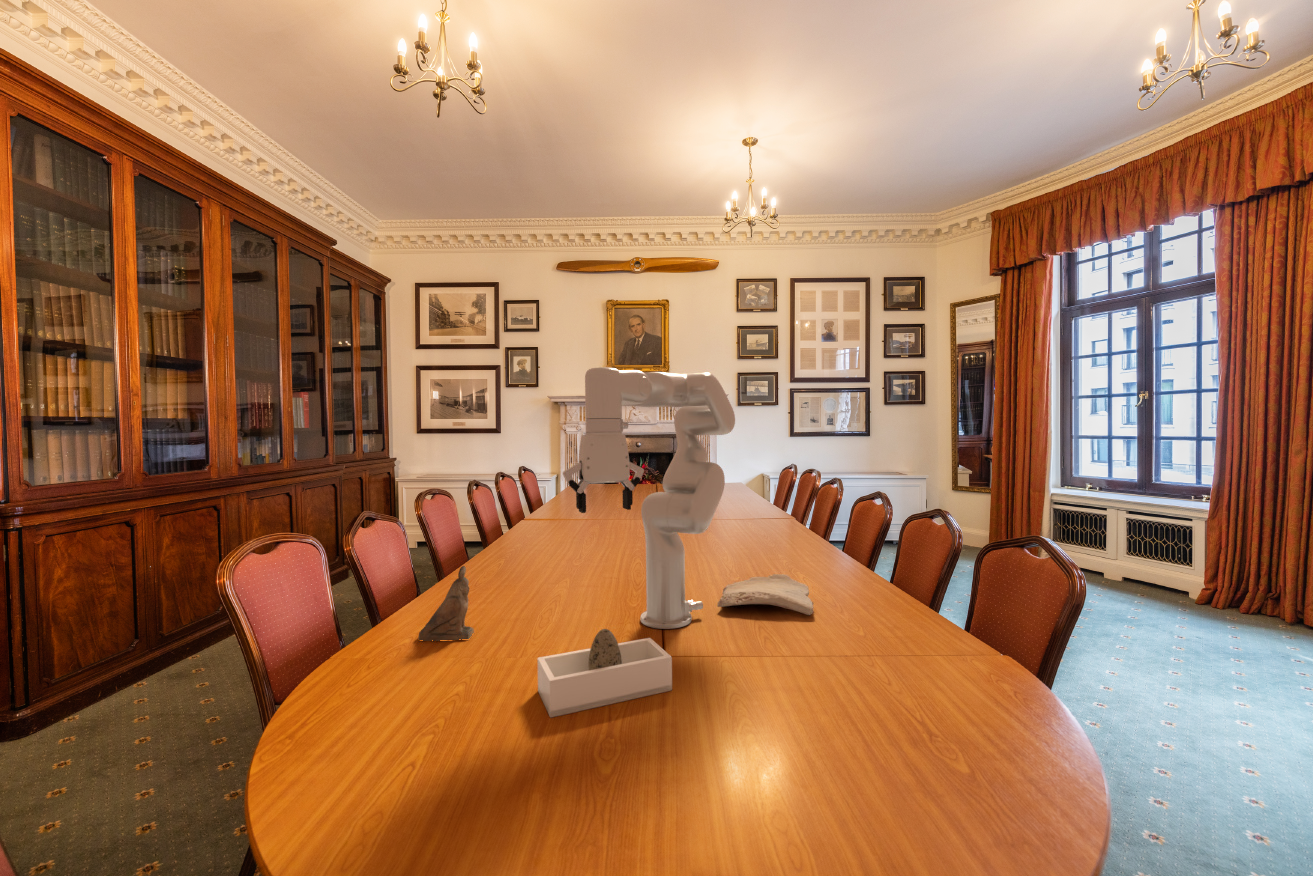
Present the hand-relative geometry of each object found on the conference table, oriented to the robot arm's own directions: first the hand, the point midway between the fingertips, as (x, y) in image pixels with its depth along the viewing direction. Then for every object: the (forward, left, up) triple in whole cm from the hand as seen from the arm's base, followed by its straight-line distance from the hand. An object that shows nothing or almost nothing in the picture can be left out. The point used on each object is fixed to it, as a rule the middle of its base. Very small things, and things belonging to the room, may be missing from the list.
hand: (604, 510), depth 111 cm
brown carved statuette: (+30, -26, -31) cm, 50 cm away
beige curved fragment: (-50, -14, -31) cm, 60 cm away
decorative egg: (+5, +14, -30) cm, 33 cm away
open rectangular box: (+5, +14, -30) cm, 34 cm away
